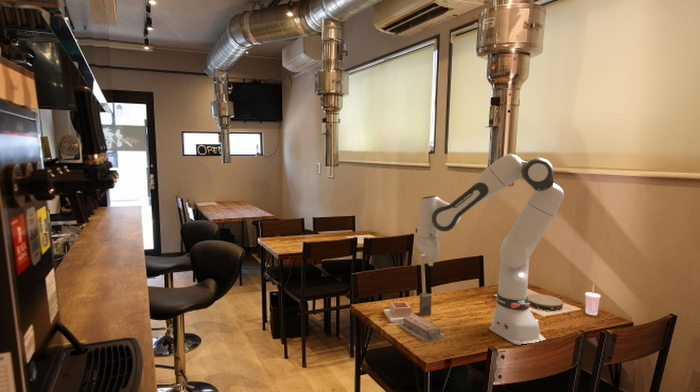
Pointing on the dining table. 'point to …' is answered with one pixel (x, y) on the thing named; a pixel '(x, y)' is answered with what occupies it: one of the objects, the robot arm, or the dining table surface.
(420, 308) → the peg
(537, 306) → the grey round disc
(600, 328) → the dining table surface
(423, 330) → the packaged product
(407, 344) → the dining table surface
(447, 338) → the dining table surface
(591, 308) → the beverage cup
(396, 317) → the square socket base
